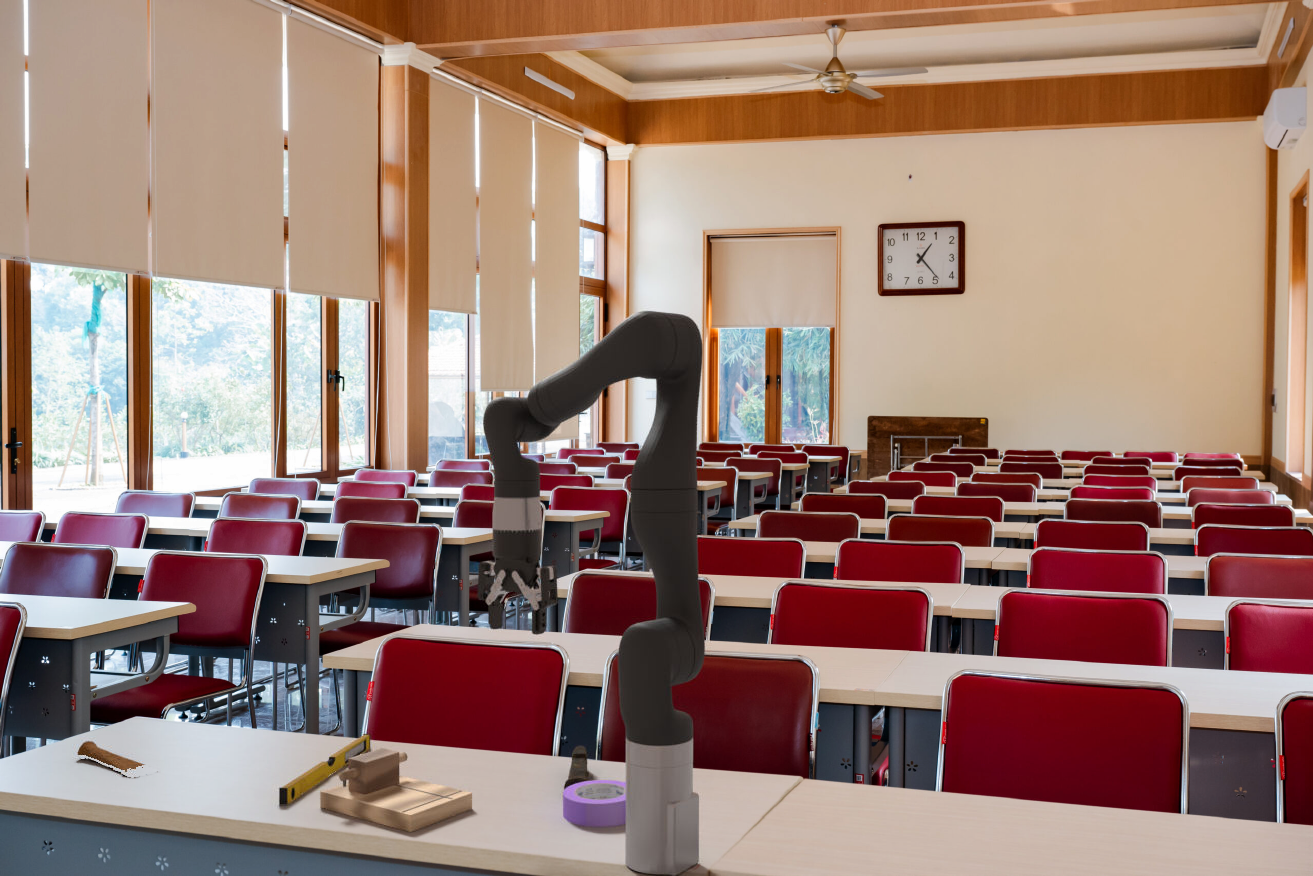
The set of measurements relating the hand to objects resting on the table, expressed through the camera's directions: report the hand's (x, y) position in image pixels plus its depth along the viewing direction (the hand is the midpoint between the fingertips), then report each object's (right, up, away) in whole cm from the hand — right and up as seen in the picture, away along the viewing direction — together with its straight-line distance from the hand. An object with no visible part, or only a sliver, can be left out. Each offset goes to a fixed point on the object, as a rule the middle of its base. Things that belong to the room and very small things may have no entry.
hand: (516, 631), depth 182 cm
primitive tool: (-73, -29, +25) cm, 82 cm away
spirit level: (-35, -28, +20) cm, 49 cm away
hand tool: (+8, -29, +15) cm, 33 cm away
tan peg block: (-23, -26, +5) cm, 35 cm away
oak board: (-19, -28, +2) cm, 34 cm away
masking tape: (+13, -29, 0) cm, 31 cm away
